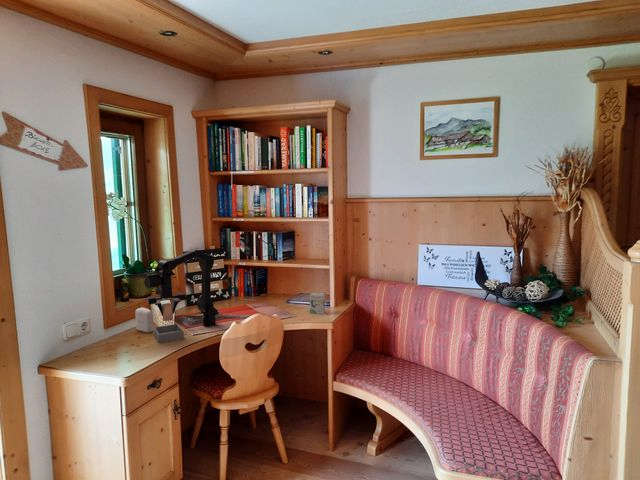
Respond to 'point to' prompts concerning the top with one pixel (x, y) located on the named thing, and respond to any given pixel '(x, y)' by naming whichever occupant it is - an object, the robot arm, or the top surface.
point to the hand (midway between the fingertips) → (167, 314)
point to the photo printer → (144, 320)
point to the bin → (168, 333)
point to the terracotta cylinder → (167, 312)
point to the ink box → (317, 303)
